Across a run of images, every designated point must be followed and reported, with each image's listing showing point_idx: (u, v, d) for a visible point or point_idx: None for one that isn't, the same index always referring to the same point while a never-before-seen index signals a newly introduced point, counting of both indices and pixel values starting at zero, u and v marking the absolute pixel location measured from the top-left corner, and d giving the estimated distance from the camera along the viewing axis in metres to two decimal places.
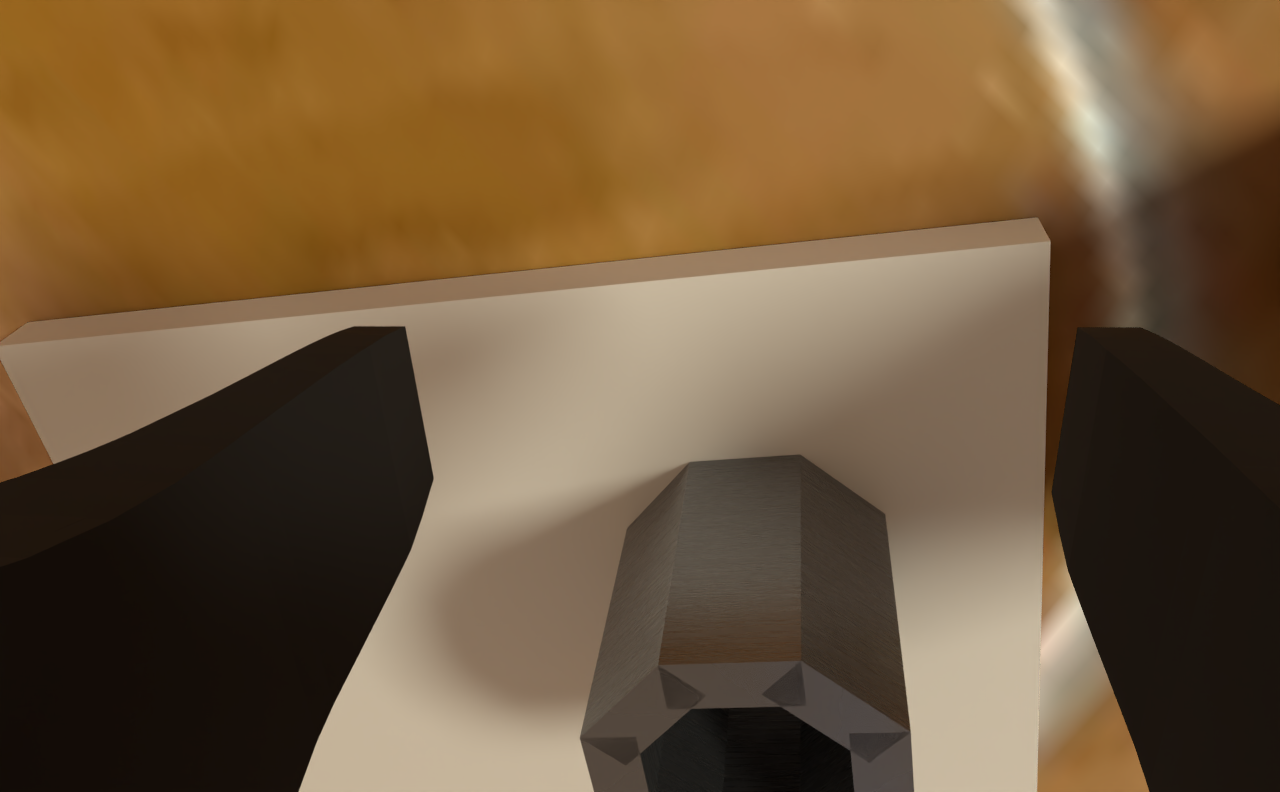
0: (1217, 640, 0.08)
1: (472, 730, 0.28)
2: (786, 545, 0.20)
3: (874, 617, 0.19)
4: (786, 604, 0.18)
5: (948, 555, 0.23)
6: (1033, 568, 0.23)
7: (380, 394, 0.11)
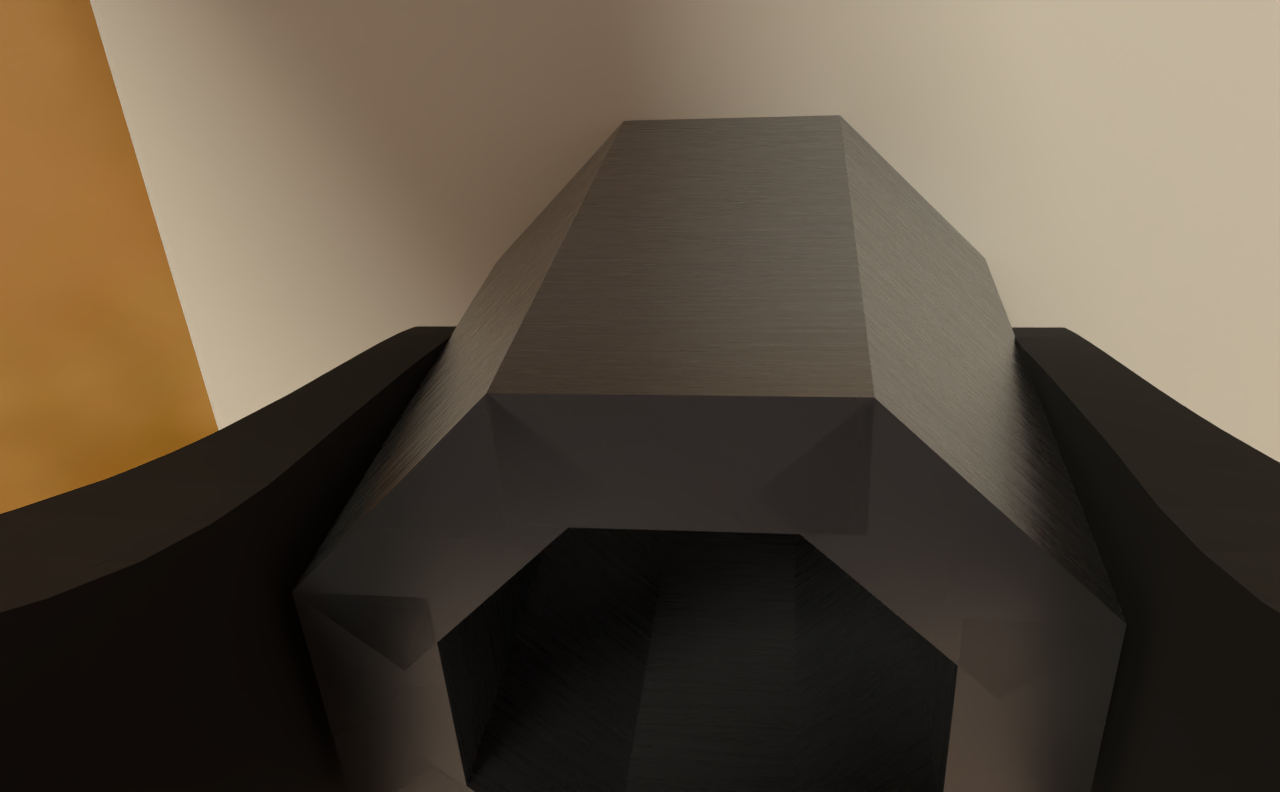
0: None
1: None
2: None
3: (513, 297, 0.09)
4: None
5: None
6: None
7: None
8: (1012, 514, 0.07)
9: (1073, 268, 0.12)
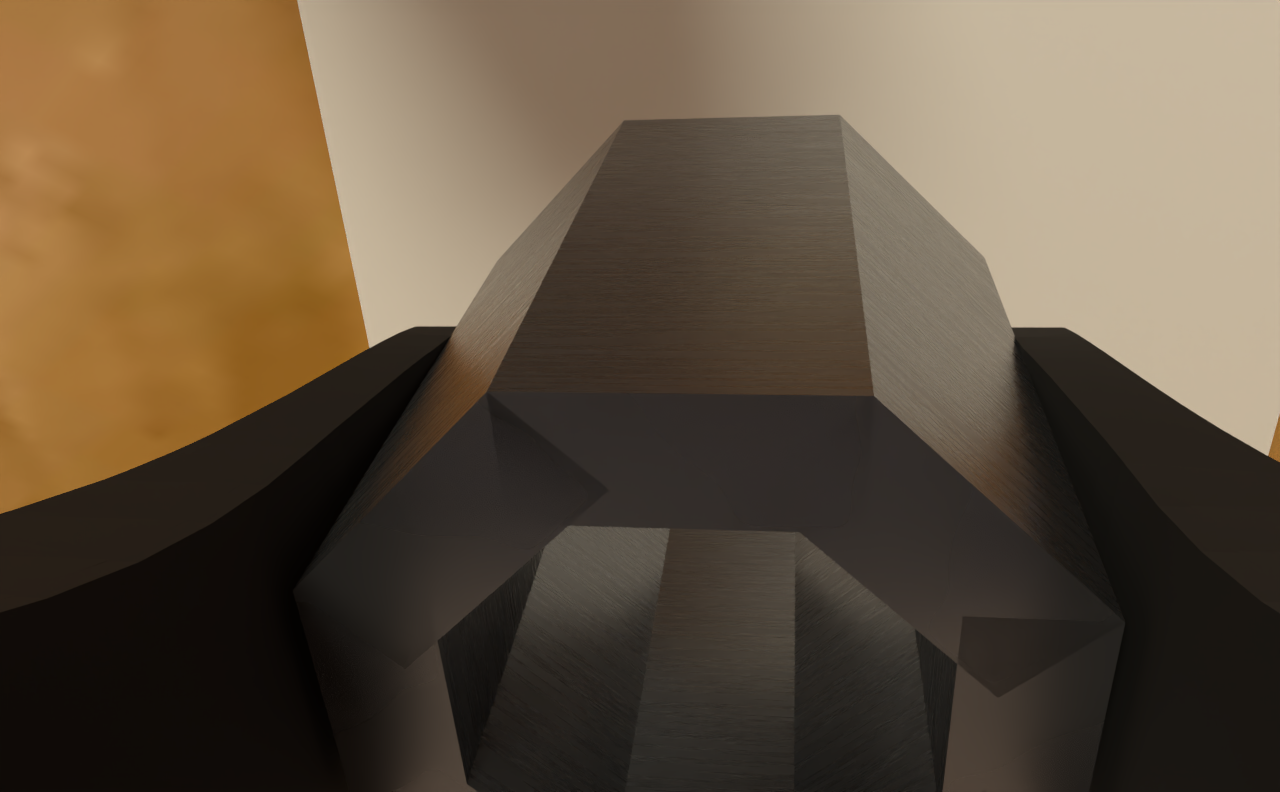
0: None
1: None
2: None
3: (513, 296, 0.09)
4: None
5: None
6: None
7: None
8: (1012, 512, 0.07)
9: (991, 130, 0.16)
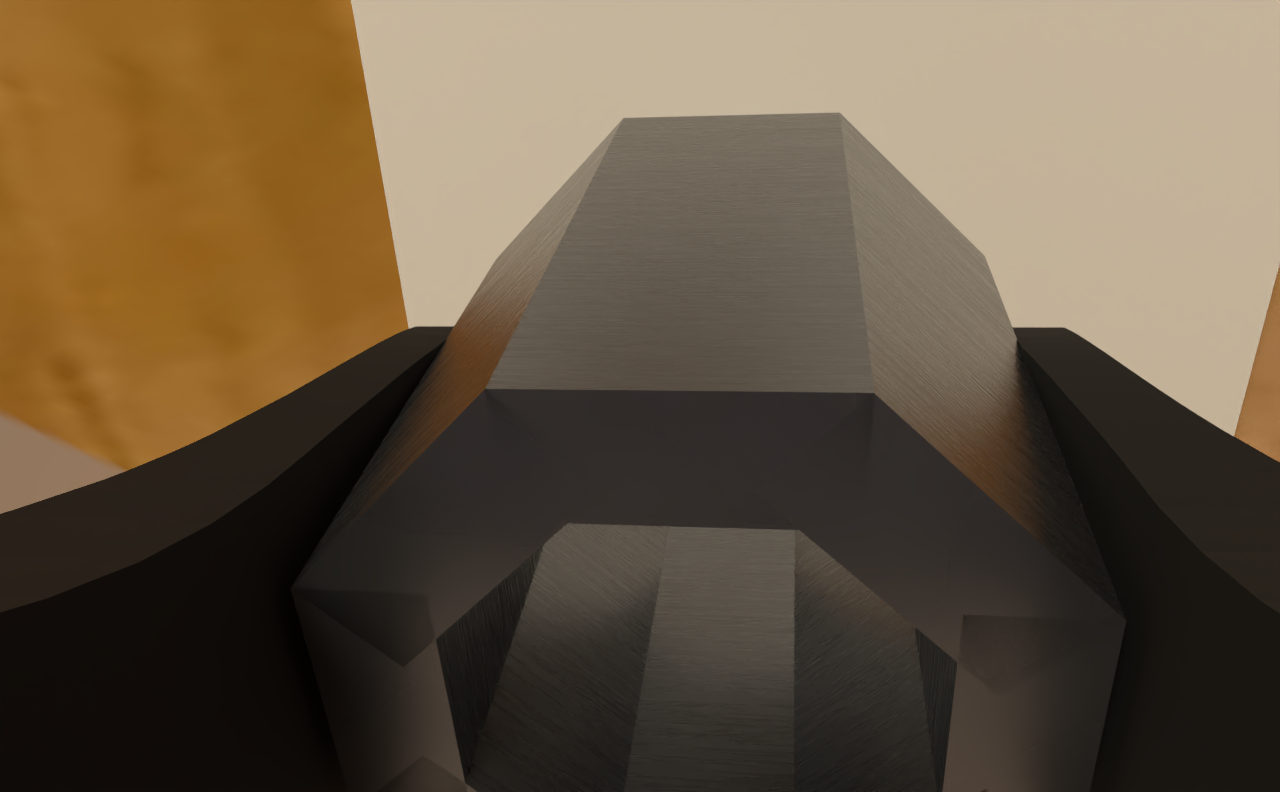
0: None
1: (1070, 59, 0.17)
2: None
3: (512, 294, 0.09)
4: None
5: None
6: None
7: None
8: (1012, 509, 0.07)
9: None
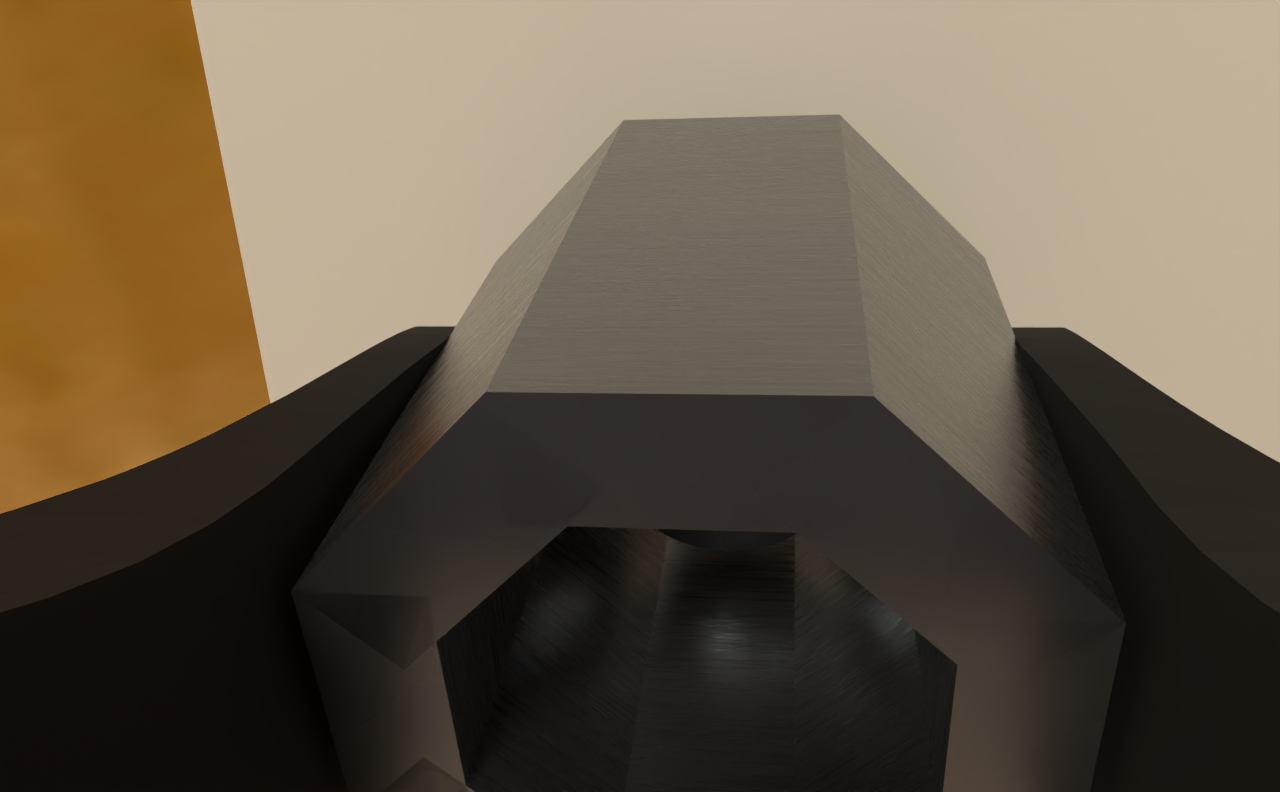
0: None
1: (1195, 73, 0.12)
2: None
3: (512, 296, 0.09)
4: None
5: None
6: None
7: None
8: (1011, 512, 0.07)
9: None
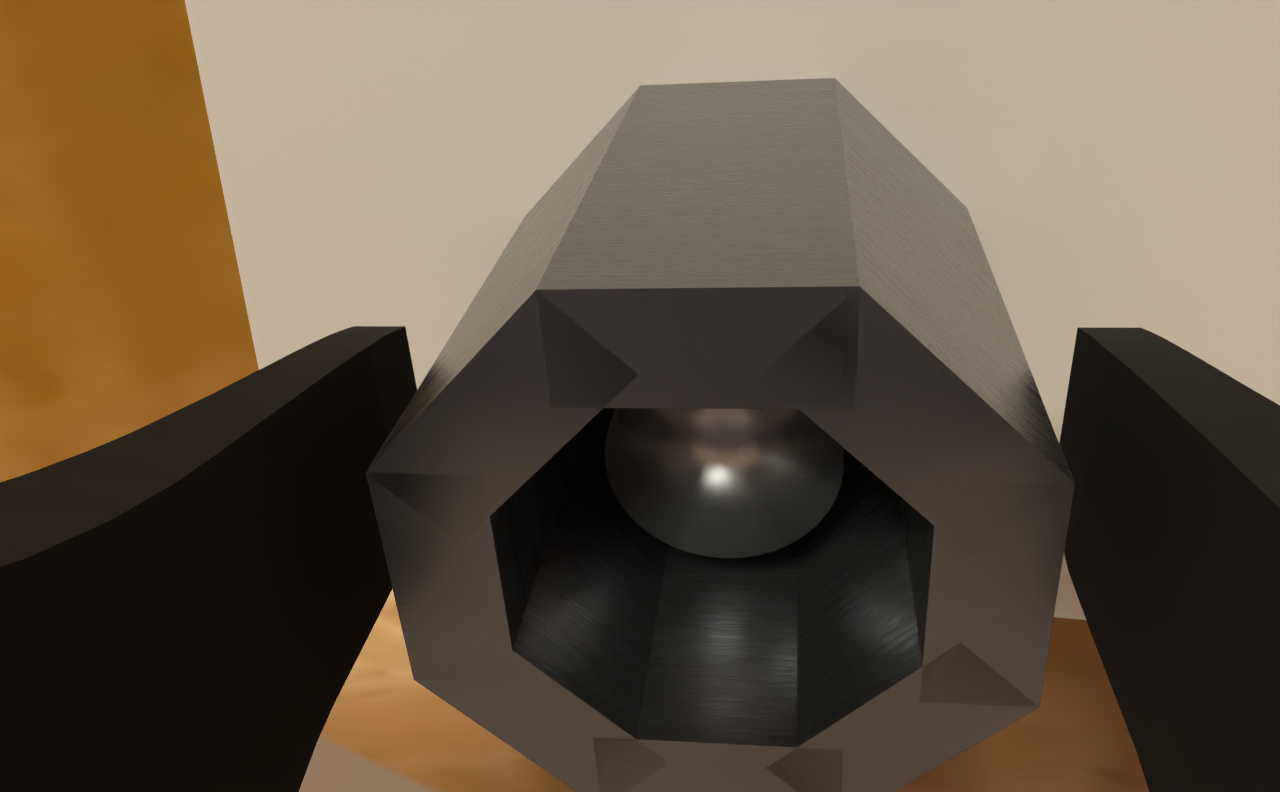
0: (1217, 640, 0.08)
1: (1197, 76, 0.12)
2: None
3: (548, 229, 0.10)
4: None
5: None
6: None
7: (380, 394, 0.11)
8: (975, 389, 0.08)
9: None
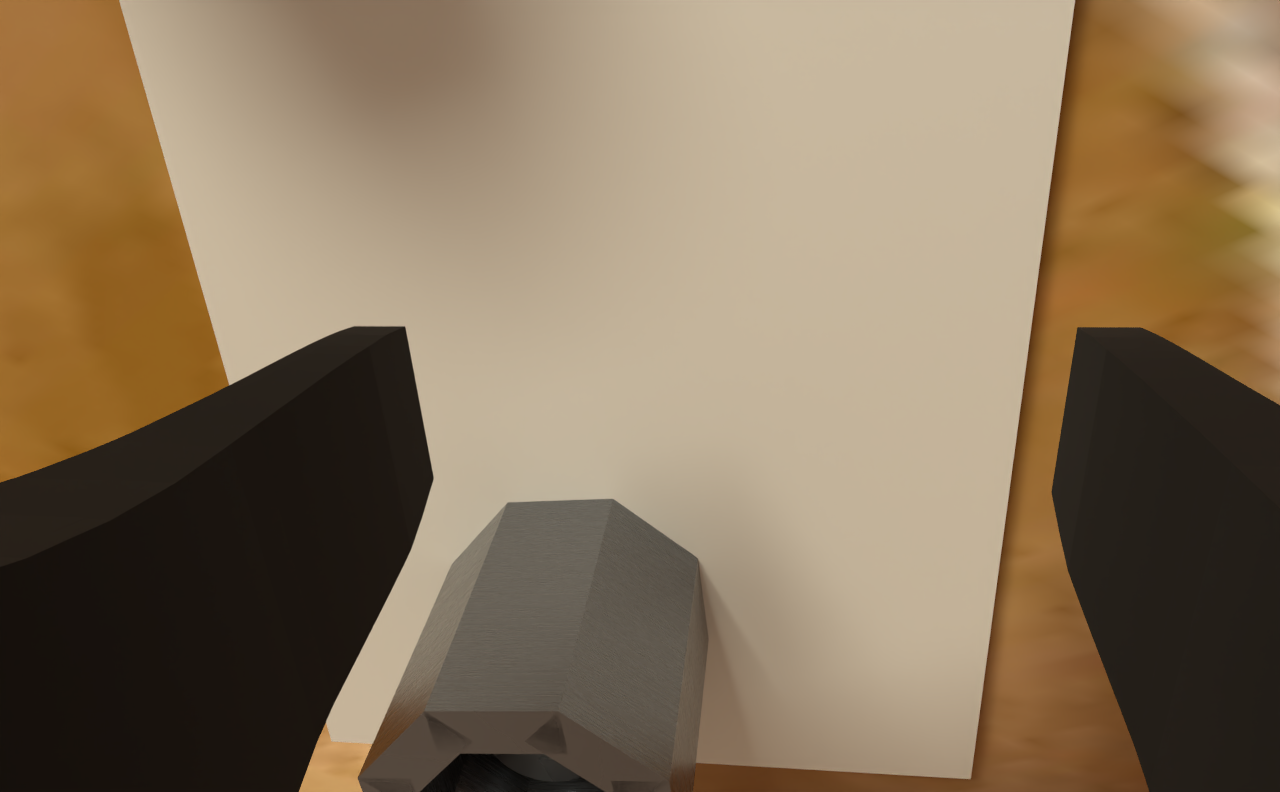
0: (1217, 640, 0.08)
1: (806, 497, 0.22)
2: None
3: (444, 635, 0.20)
4: None
5: None
6: None
7: (380, 394, 0.11)
8: (619, 745, 0.18)
9: (739, 51, 0.18)
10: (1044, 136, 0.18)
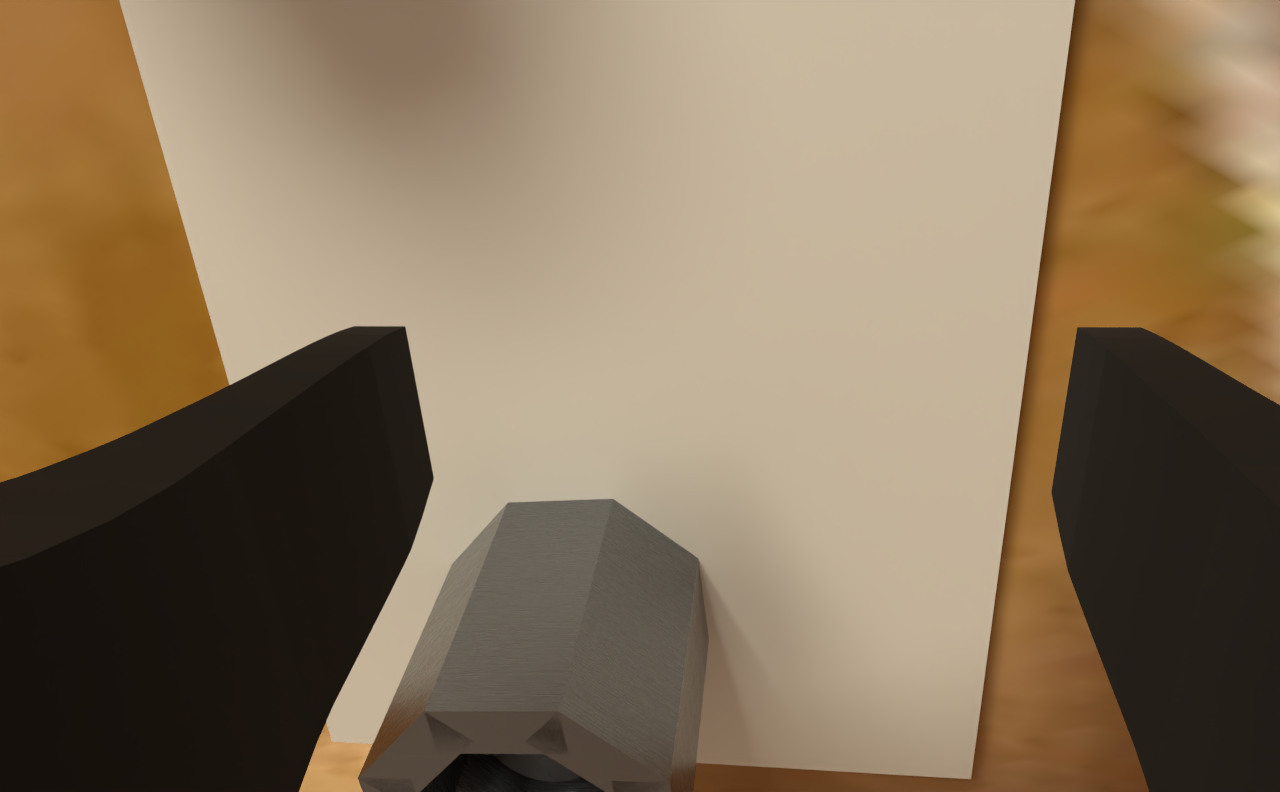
0: (1217, 640, 0.08)
1: (806, 497, 0.22)
2: None
3: (444, 635, 0.20)
4: None
5: None
6: None
7: (380, 394, 0.11)
8: (619, 744, 0.18)
9: (739, 51, 0.18)
10: (1044, 136, 0.18)
